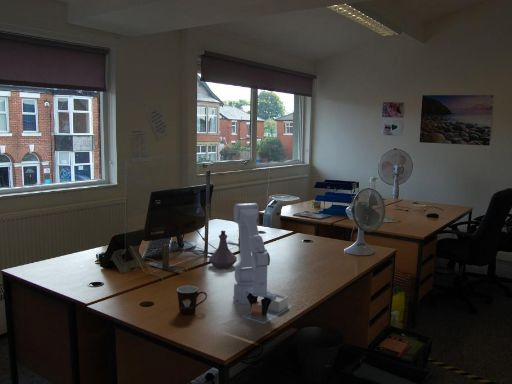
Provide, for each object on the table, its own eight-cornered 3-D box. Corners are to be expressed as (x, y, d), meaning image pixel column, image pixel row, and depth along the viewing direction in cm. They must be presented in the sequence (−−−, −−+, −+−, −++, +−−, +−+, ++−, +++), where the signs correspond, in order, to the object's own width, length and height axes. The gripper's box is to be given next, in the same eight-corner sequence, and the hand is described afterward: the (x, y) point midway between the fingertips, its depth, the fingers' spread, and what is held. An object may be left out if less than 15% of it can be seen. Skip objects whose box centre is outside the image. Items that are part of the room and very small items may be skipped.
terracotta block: (260, 318, 186) (261, 306, 185) (251, 315, 188) (251, 304, 187) (266, 314, 189) (267, 303, 188) (257, 312, 192) (258, 300, 191)
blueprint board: (264, 325, 181) (264, 323, 181) (241, 318, 187) (241, 316, 187) (292, 308, 199) (292, 306, 199) (270, 302, 205) (270, 300, 205)
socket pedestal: (278, 312, 192) (279, 301, 192) (263, 308, 196) (264, 297, 196) (288, 306, 198) (288, 296, 198) (273, 302, 202) (273, 292, 202)
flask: (213, 272, 245) (213, 235, 242) (204, 263, 260) (204, 229, 257) (242, 269, 251) (242, 233, 248) (231, 260, 266) (231, 226, 263)
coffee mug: (173, 314, 190) (172, 291, 189) (183, 306, 198) (183, 284, 196) (198, 319, 186) (198, 295, 184) (207, 311, 194) (208, 288, 192)
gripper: (239, 280, 187) (239, 312, 189) (269, 287, 179) (268, 321, 181) (249, 275, 193) (249, 306, 195) (279, 282, 185) (278, 315, 187)
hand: (259, 313), depth 189 cm, fingers closed on terracotta block, 4 cm apart
